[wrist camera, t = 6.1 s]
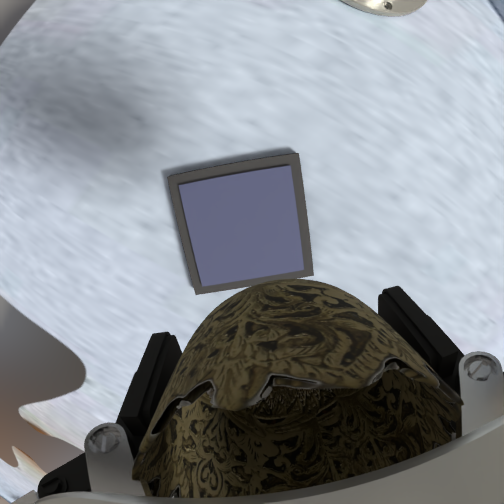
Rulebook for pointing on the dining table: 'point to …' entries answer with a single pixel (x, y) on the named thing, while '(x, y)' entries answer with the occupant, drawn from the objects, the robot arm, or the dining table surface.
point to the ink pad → (243, 223)
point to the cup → (291, 397)
